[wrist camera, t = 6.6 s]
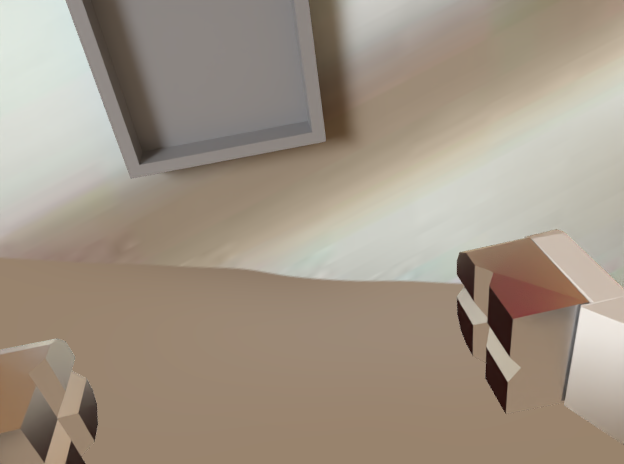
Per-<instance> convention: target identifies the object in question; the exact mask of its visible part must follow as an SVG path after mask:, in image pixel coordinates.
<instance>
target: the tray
mask: <svg viewBox="0 0 624 464" xmlns="http://www.w3.org/2000/svg"><path fill="white" fill-rule="evenodd" d="M66 3H67V5H68V8H69V11H70V14H71V16H72V19H73V22H74V25H75V27H76V30H77V33H78V36H79V38H80V41H81V44H82V46H83V49H84V52H85V55H86V57H87V60H88V63H89V66H90V68H91V71H92V74H93V77H94V79H95V82H96V85H97V88H98V90H99V93H100V96H101V99H102V101H103V104H104V107H105V109H106V112H107V115H108V118H109V120H110V123H111V126H112V129H113V131H114V134H115V137H116V140H117V142H118V145H119V148H120V151H121V153H122V156H123V159H124V161H125V164H126V167H127V170H128V172H129V175H130V178H137V177H142V176H147V175H152V174H158V173H163V172H168V171H173V170H179V169H184V168H189V167H195V166H200V165H205V164H210V163H216V162H221V161H226V160H231V159H237V158H242V157H247V156H252V155H258V154H263V153H268V152H273V151H279V150H284V149H289V148H294V147H300V146H305V145H310V144H315V143H321V142H326V136H325V128H324V120H323V112H322V104H321V96H320V88H319V80H318V72H317V64H316V56H315V48H314V40H313V32H312V24H311V16H310V8H309V0H66Z"/></svg>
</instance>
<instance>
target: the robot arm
mask: <svg viewBox="0 0 624 464" xmlns="http://www.w3.org/2000/svg"><path fill="white" fill-rule="evenodd" d="M457 276H458V277H459V279H460V280H461V282H462V284H463V285H464V288H463V289H462V291H461V292H460V293H459V295H458V296H457V315H458V319H459V324H460V329H461V332H462V335H463V337H464V340H465V342H466V345H467V346H468V348H469V350H470V352H471V354H472V356H474V357H475V358H477V359H479V360H481V361H483V362H485V363H486V373H485V379H486V380H487V382H488V384H489V386H490V388H491V389H492V391H493V393H494V395H495V396H496V398H497V400H498V402H499V403H500V405H501V407H502V409H503V410H504V412H505V414H509V413H514V412H520V411H524V410H529V409H534V408H539V407H544V406H549V405H554V404H559V403H564V402H565V403H564V406H566V407H567V408H569V409H570V410H572V411H573V412H575V413H576V414H578V415H579V416H581V417H582V418H584V419H585V420H587V421H588V422H590V423H592V424H593V425H595V426H596V427H597V428H599V429H600V430H602V431H604V432H605V433H606V434H608V435H609V436H611V437H613V438H614V439H616V440H617V441H619V442H620V443H621V444H623V445H624V288H623V287H622V286H621V285H620V284H618V283H617V282H616V281H615V280H614V279H613V278H612V277H611V276H610V275H609V274H608V273H607V272H606V271H605V270H604V269H603V268H602V267H601V266H600V265H599V264H598V263H596V262H595V261H594V260H593V259H592V258H591V257H590V256H589V255H588V254H587V253H586V252H585V251H584V250H583V249H582V248H581V247H580V246H579V245H578V244H577V243H576V242H574V241H573V240H572V239H571V238H570V237H569V236H568V235H567V234H566V233H565V232H563V231H560V230H557V229H556V230H552V231H547V232H543V233H539V234H535V235H531V236H527V237H524V238H523V239H518V240H513V241H509V242H504V243H500V244H495V245H491V246H486V247H482V248H477V249H473V250H468V251H463V252H459V256H458V259H457ZM74 360H75V356H74V355H73V353H72V351H71V350H70V348H69V346H68V345H67V343H66V342H65V341H63V340H60V339H53V340H48V341H43V342H38V343H32V344H27V345H22V346H16V347H11V348H6V349H1V350H0V464H85V462H84V460H83V459H82V456H83V455H84V453H85V452H86V451H87V450H88V449H89V448H90V446H91V445H92V444H93V443H94V442H95V436H96V432H97V426H98V419H97V418H98V416H97V403H96V400H95V396H94V393H93V389H92V388H91V386H90V384H89V382H88V380H87V378H85V377H83V376H81V375H79V374H77V373H75V372H73V371H72V367H73V363H74Z"/></svg>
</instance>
